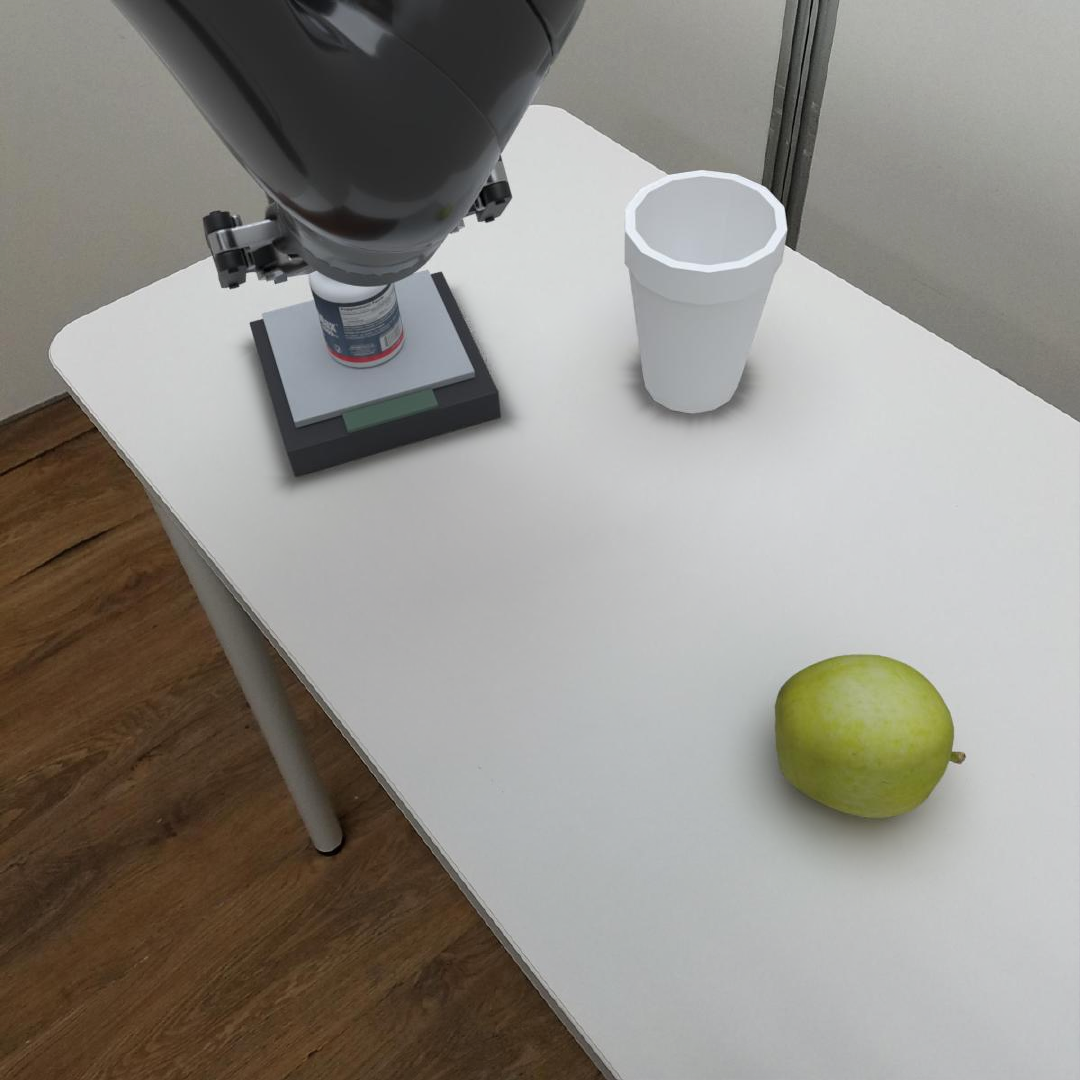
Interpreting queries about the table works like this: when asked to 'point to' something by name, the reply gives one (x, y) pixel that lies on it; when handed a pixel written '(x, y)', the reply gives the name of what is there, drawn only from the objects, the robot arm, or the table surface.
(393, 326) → the pill bottle
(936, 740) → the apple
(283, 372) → the scale
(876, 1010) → the table surface
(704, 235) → the foam cup
